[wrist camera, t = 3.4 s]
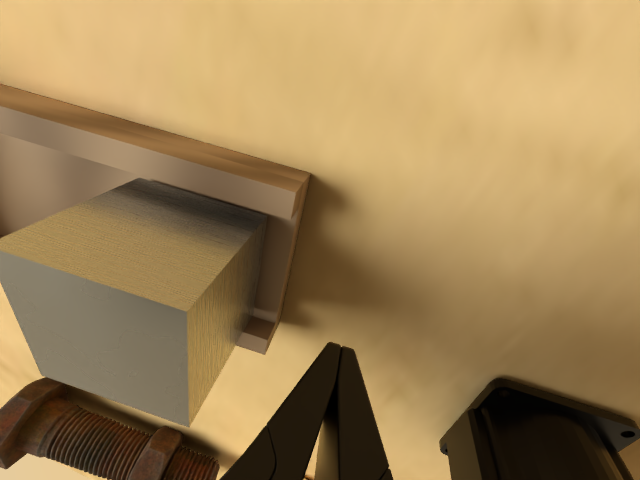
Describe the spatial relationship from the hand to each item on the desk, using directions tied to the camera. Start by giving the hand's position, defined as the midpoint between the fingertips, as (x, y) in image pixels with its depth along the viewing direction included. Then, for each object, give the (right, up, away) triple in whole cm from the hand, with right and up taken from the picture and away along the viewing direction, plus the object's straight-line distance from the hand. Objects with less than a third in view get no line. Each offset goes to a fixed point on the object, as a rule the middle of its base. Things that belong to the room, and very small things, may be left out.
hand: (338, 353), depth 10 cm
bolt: (-15, -11, +15) cm, 24 cm away
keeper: (-5, +3, +3) cm, 7 cm away
